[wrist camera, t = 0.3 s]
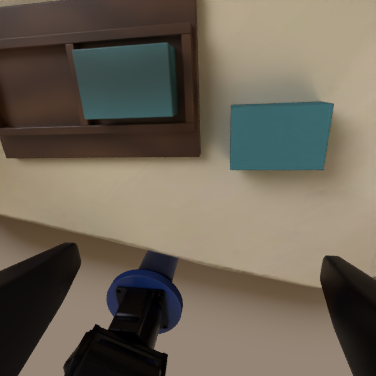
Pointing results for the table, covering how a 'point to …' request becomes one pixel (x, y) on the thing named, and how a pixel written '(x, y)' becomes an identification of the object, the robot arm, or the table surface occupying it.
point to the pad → (280, 136)
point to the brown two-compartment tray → (99, 79)
